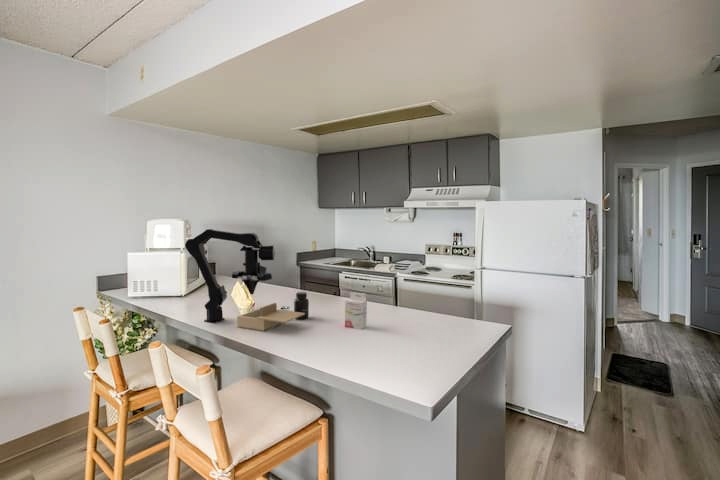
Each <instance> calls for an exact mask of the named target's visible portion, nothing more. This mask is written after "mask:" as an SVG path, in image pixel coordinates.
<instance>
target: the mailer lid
mask: <svg viewBox="0 0 720 480" xmlns="http://www.w3.org/2000/svg"><path fill="white" fill-rule="evenodd" d="M259 309H260V316H259V317H256V319H260V320H267V321H274V322H282V324H286V323H289V322H291V321H293V320H297V319H296V318H298V317H300V316H303V315H305V313H301V312H294V310H283V309H277V303H276V302H272V303H271V304H268V305H263V306H262V307H260V308H259Z"/></svg>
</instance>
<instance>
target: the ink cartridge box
mask: <svg viewBox="0 0 720 480" xmlns="http://www.w3.org/2000/svg"><path fill="white" fill-rule="evenodd" d="M367 304H368V301H367V294H366V293H362V292H353V291H350V292H349V298H348V299H346V300H345V301H344V327H345V328H351V329H357V330H363V329H365V328H366V327H367V323H368V321H367V320H368V319H367V317H368V316H367V315H368V314H367V312H368V310H367V309H368V305H367Z"/></svg>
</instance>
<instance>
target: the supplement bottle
mask: <svg viewBox="0 0 720 480" xmlns="http://www.w3.org/2000/svg"><path fill="white" fill-rule="evenodd" d="M295 295H296V296H295V297H296V298H295V299H294V300H293V312H301V313H305V315H303V316H300V317H298V318H296V319H295V320H299V321H304V320H307V319H309V313H310V312H309V310H310V309H309V307H310V306H309V305H310V302H309V301H310V300H309V298H307V297H308V295H307V292H304V291H299V292H296V294H295Z"/></svg>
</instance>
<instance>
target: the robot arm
mask: <svg viewBox="0 0 720 480" xmlns="http://www.w3.org/2000/svg"><path fill="white" fill-rule="evenodd" d="M211 239H216V240H222V241H228V242H236V243H238V244H241V245H243V246H242V247H241V248H240V249H239V251H240V252H244V262H243V263H242V266H244V270H236V271H232V273H231V278H232V279H238V278H239V277H241V278H242V279H241V282H243V283H244V285H245V287H246V288H247V291H248V293H249V294H250V295H254V293H255V291H256V287H257V285H258V283H259V282H265V281H270V280H273V275H272V273H270V272H267V267H265V266H263V265H261V262H259V259H260V260H261V261H275V258H276V256H275V255H276V253H275V248H274V245H263V244H262V243H261V241H260V240H259V236H258V234H256V233H254V232H243V233H241V232H240V233H239V232H237V233H236V232H231V231H224V230H218V229H213V228H209V229H208V228H207V229H205V230H204V231H203V232H202V233H200V234H199V235H197V236H195V237H193V238H190V239H187V241H185V245H184V247H185V249H186V251H187V252H188V253H189V256H191V257H192V258H193V259H194V260H195V262H196V265H197V266H198V269H199V271H200V273H201V275H202V277H203V280H204V282H205V284H206V286H207V291H208V293H207V294H208V298H209V300H208V301H207V302H206V303H205V304H204V308H205V310H206V319H204V322H207V323H213V324H215V323H218V322H221V321H224V320H225V318H224V315H223V307H222V305H223V304H224V302H225V301H226V300H227V298H228V295H227V294H228V291H227V290H226V288H225V285H220V284H219V282H218V281H217V279H216V276H215V274H214V273H213V270H212V267H211V265H210V264H209V261H208V259H207V257H206V252H205V251H206V249H205V244H206V243H207V242H208V241H210V240H211Z"/></svg>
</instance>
